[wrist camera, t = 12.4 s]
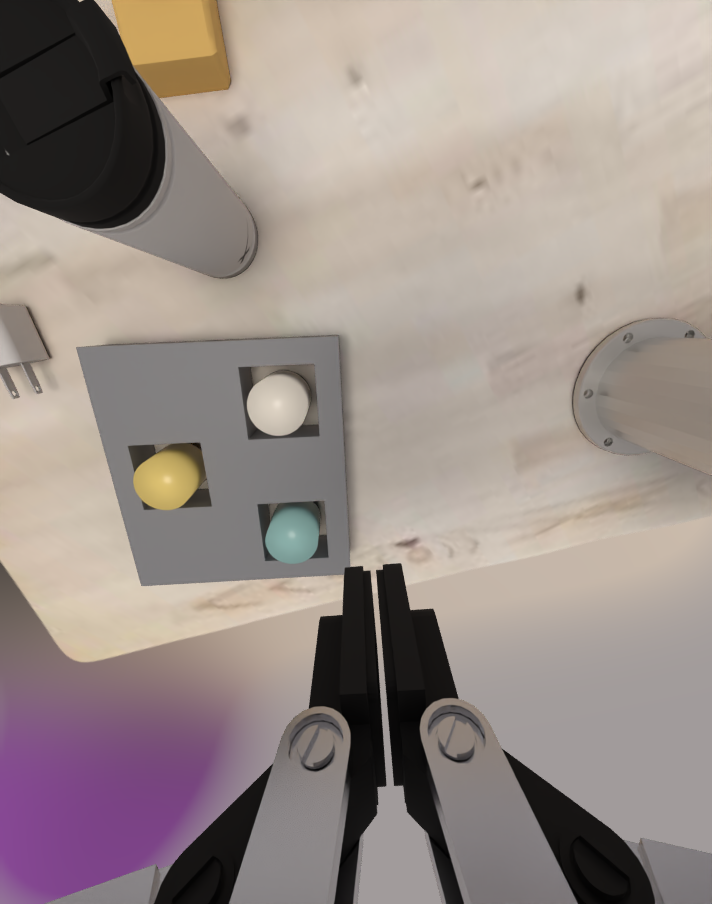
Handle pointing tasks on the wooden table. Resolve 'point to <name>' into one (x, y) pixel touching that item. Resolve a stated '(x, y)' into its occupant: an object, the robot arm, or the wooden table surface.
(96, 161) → the travel mug
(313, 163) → the wooden table surface
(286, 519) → the teal button
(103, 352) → the console
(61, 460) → the wooden table surface
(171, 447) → the mustard button
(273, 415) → the ivory button
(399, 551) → the wooden table surface
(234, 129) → the wooden table surface
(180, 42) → the rubber stamp
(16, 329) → the usb wall charger
